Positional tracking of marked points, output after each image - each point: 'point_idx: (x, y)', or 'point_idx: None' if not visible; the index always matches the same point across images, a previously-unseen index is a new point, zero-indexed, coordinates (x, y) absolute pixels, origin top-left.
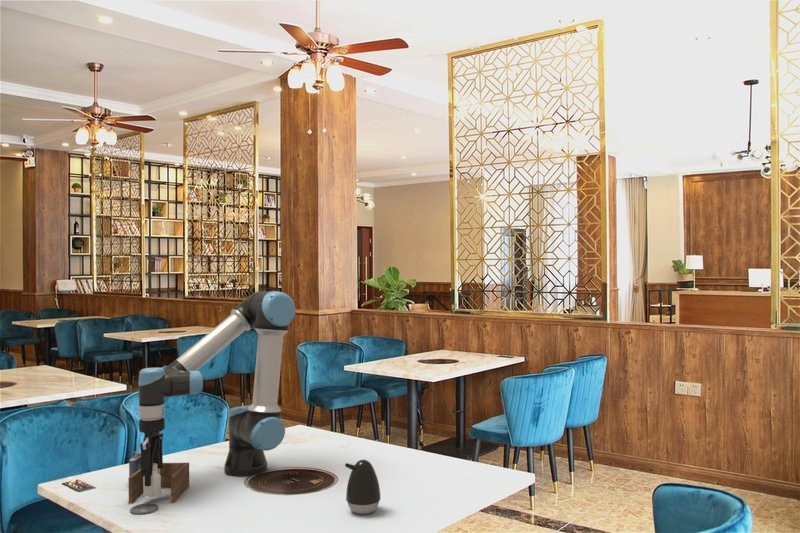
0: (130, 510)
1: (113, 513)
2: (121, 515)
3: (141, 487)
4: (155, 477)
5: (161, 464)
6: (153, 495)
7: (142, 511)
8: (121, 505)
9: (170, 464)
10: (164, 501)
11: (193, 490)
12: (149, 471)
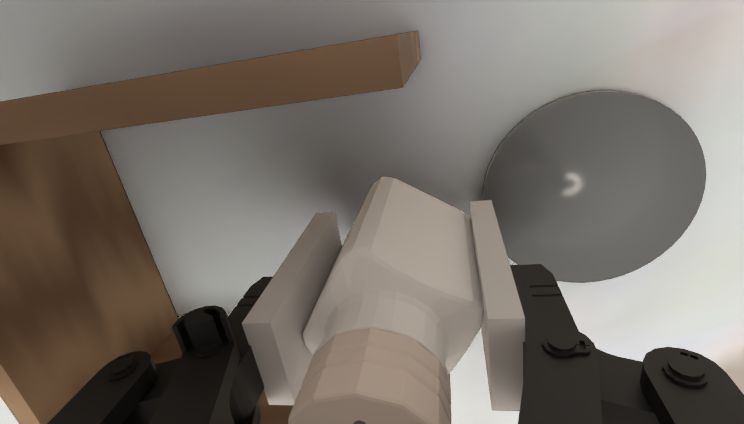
0: (637, 268)
1: (631, 347)
2: (683, 292)
3: None
4: (431, 278)
5: (149, 355)
6: (473, 201)
7: (679, 176)
8: (481, 355)
9: None
10: (389, 128)
11: (117, 13)
12: (693, 391)
